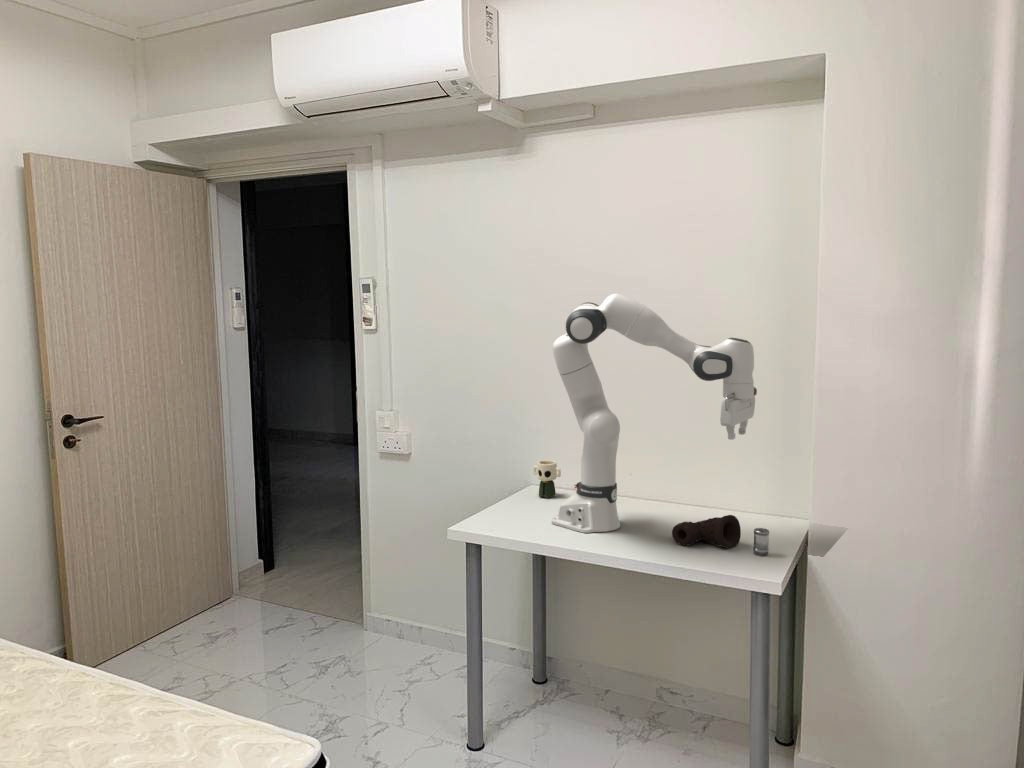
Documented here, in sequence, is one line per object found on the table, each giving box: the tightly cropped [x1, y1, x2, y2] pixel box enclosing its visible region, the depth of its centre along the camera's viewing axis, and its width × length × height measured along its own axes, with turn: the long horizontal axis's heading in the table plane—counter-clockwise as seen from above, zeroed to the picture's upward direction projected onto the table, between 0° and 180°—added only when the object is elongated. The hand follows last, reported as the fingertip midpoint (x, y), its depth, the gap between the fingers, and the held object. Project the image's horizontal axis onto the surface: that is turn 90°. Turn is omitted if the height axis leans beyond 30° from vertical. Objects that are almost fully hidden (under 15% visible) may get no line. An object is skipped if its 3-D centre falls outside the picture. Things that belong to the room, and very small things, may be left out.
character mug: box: [533, 459, 562, 498], centre depth 286 cm, size 11×7×13 cm, turn 63°
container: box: [752, 527, 770, 557], centre depth 222 cm, size 4×4×7 cm
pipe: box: [671, 514, 742, 549], centre depth 232 cm, size 10×15×15 cm
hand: (736, 436), depth 235 cm, fingers open, 8 cm apart
